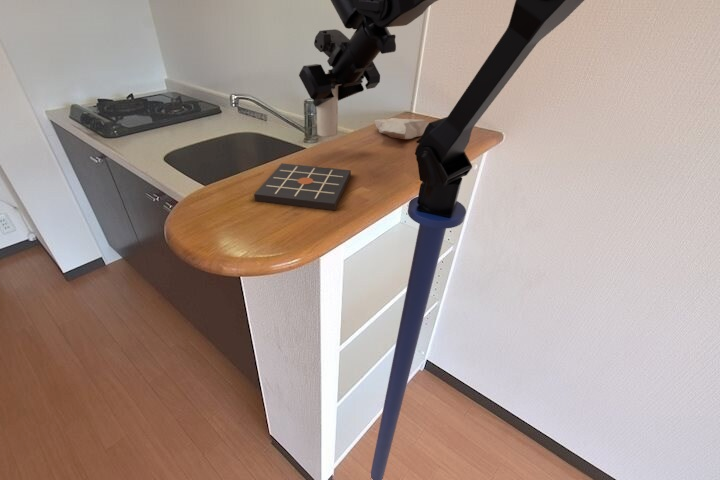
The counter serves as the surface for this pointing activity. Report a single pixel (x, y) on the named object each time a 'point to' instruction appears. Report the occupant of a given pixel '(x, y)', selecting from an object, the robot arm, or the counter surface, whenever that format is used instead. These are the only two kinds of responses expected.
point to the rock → (402, 127)
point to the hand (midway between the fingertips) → (323, 102)
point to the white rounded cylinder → (328, 116)
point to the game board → (304, 186)
